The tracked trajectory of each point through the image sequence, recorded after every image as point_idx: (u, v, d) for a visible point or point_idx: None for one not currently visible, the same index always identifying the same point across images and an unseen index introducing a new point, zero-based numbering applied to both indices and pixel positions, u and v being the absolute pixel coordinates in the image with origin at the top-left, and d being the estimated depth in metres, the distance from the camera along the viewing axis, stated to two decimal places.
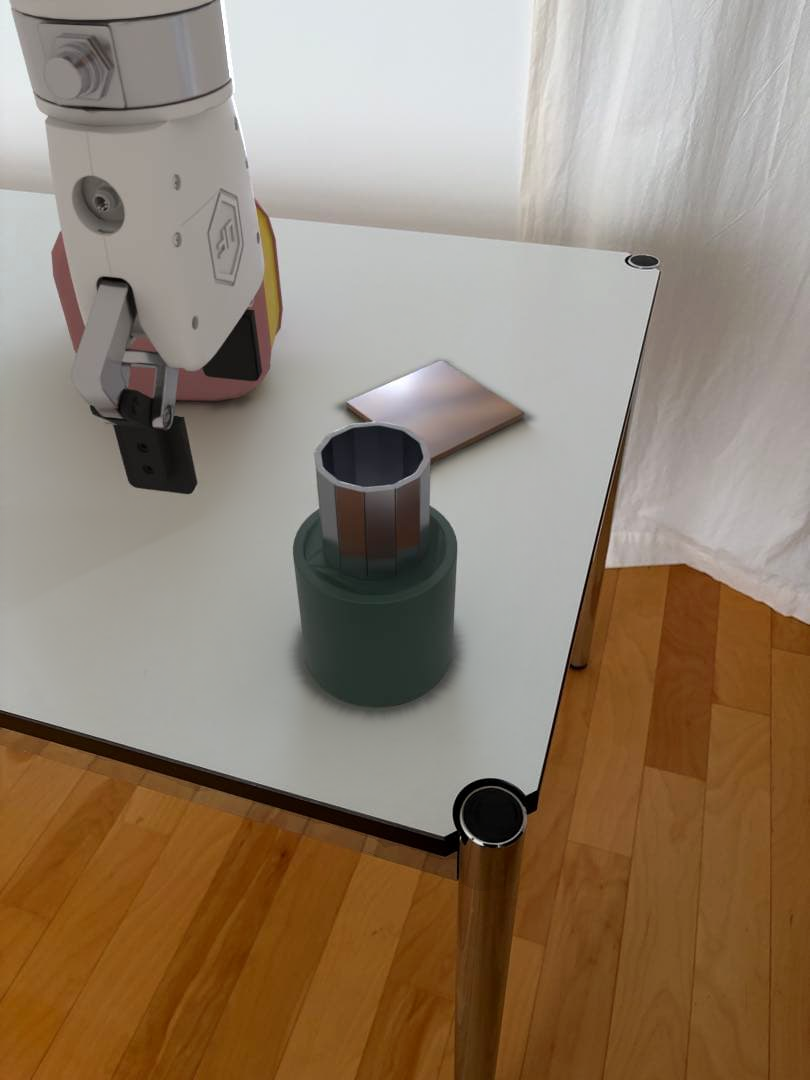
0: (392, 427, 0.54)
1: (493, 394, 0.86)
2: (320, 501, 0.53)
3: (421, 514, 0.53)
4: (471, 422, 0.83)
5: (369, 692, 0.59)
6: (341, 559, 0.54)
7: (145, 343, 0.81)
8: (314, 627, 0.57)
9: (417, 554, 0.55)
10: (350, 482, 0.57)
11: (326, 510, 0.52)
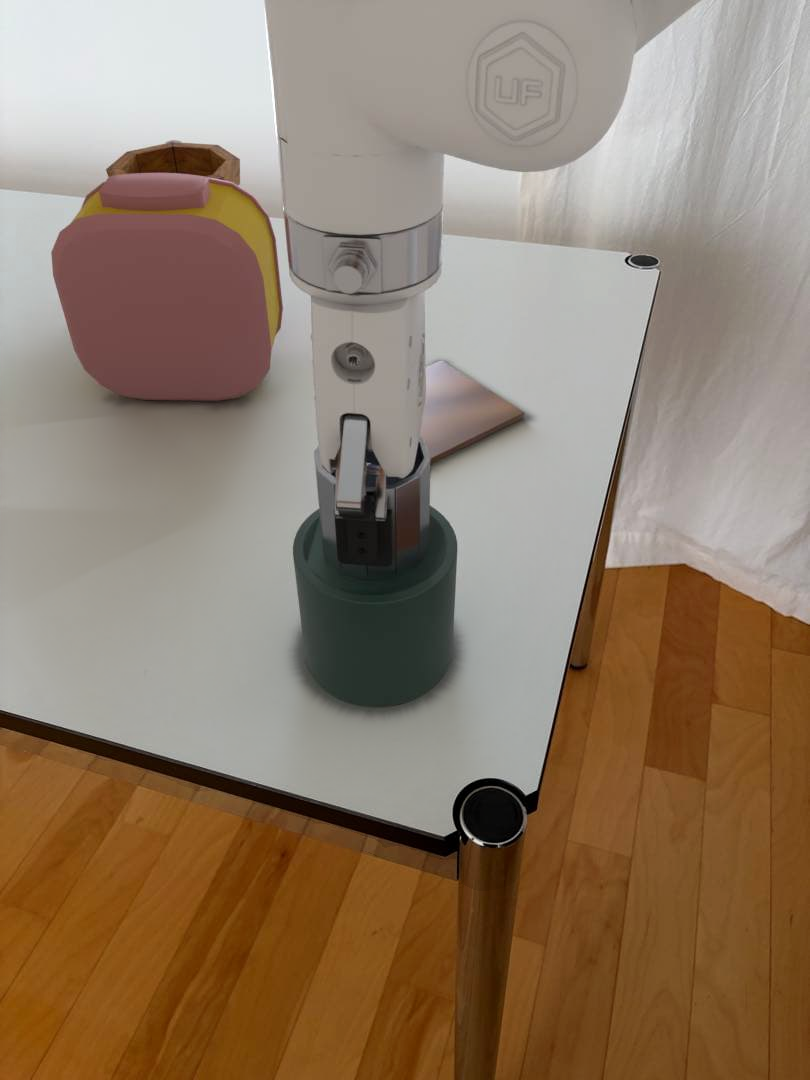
0: None
1: (493, 394, 0.86)
2: (320, 501, 0.53)
3: (421, 514, 0.53)
4: (471, 422, 0.83)
5: (369, 692, 0.59)
6: None
7: (145, 343, 0.81)
8: (314, 627, 0.57)
9: (417, 554, 0.55)
10: None
11: (326, 510, 0.52)
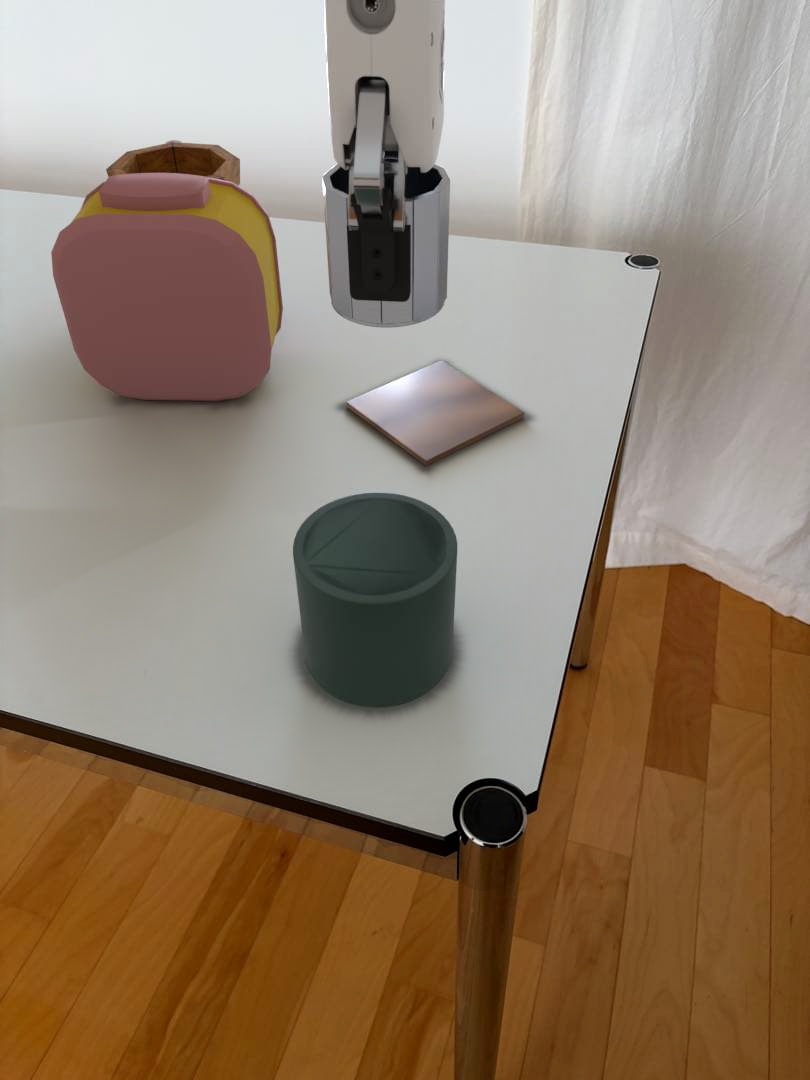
0: None
1: (493, 394, 0.86)
2: (329, 232, 0.48)
3: (440, 247, 0.48)
4: (471, 422, 0.83)
5: (369, 692, 0.59)
6: (352, 302, 0.49)
7: (145, 343, 0.81)
8: (314, 627, 0.57)
9: (435, 300, 0.50)
10: None
11: (336, 241, 0.48)
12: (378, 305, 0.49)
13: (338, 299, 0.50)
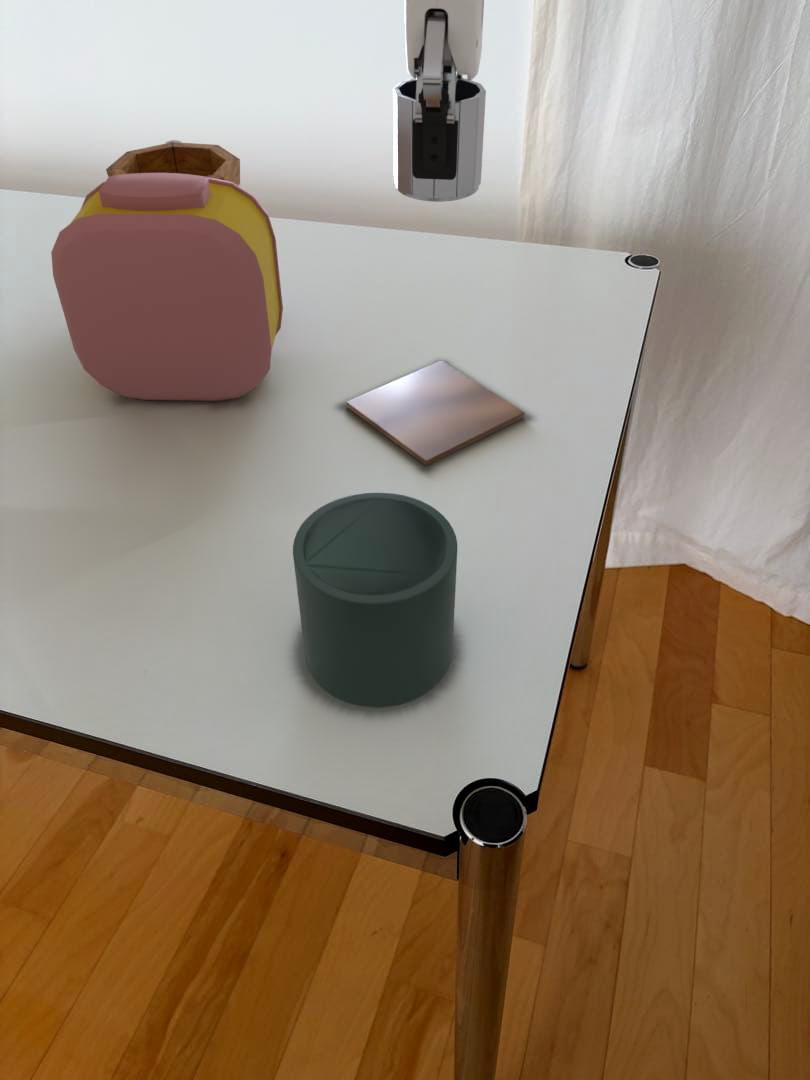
0: None
1: (493, 394, 0.86)
2: (398, 128, 0.66)
3: (477, 141, 0.67)
4: (471, 422, 0.83)
5: (369, 692, 0.59)
6: (413, 182, 0.68)
7: (145, 343, 0.81)
8: (314, 627, 0.57)
9: (473, 182, 0.68)
10: None
11: (403, 135, 0.66)
12: (432, 183, 0.67)
13: (402, 181, 0.68)
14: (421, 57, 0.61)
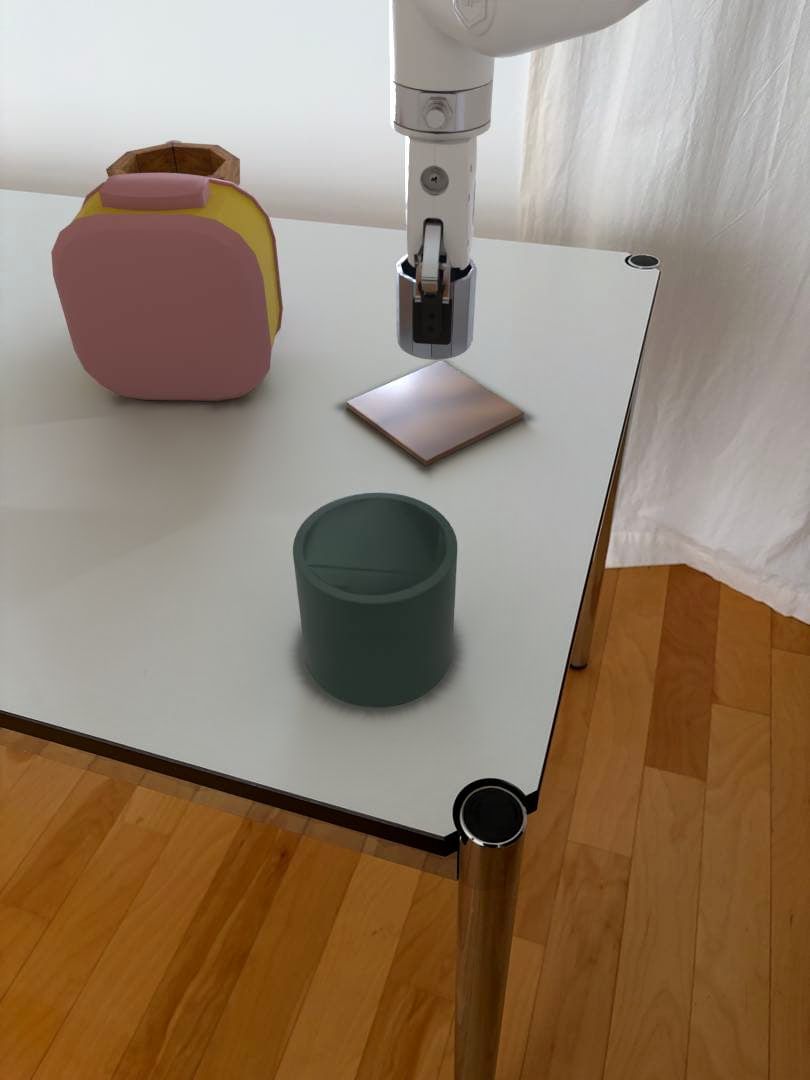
0: None
1: (493, 394, 0.86)
2: (400, 300, 0.76)
3: (469, 310, 0.76)
4: (471, 422, 0.83)
5: (369, 692, 0.59)
6: (413, 343, 0.77)
7: (145, 343, 0.81)
8: (314, 627, 0.57)
9: (465, 342, 0.78)
10: None
11: (404, 305, 0.76)
12: (429, 346, 0.77)
13: (403, 341, 0.78)
14: (420, 250, 0.71)
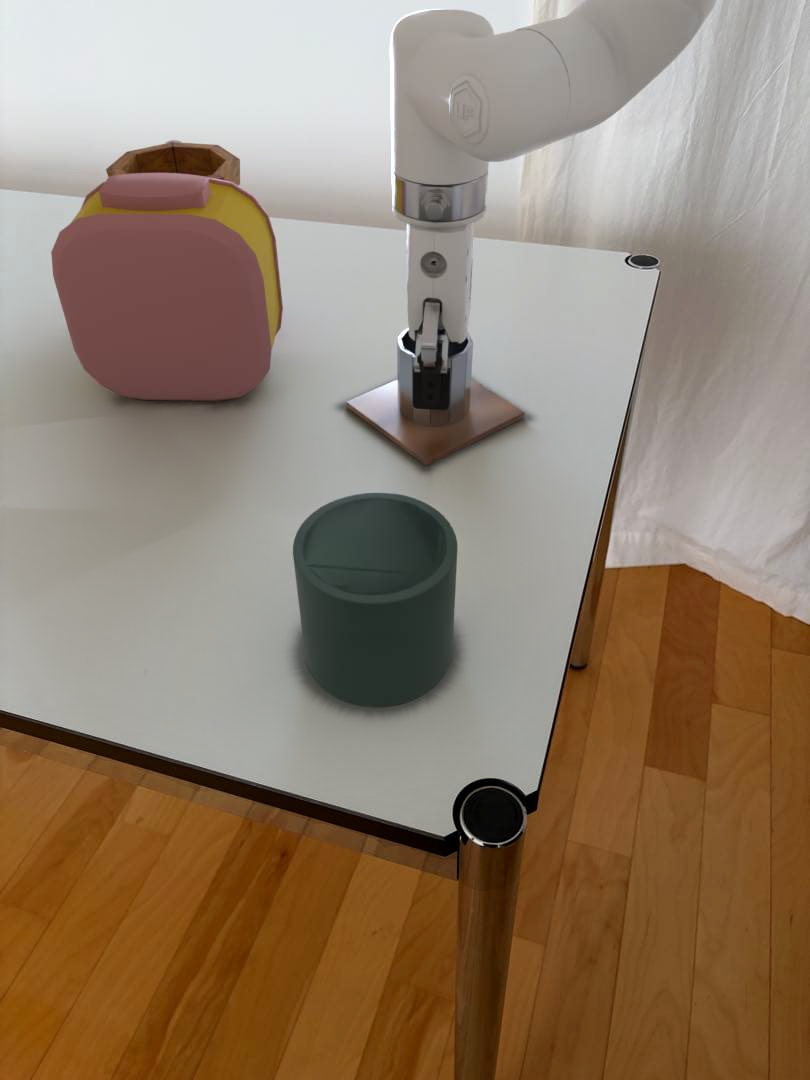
0: None
1: (493, 394, 0.86)
2: (401, 371, 0.81)
3: (466, 381, 0.81)
4: (471, 422, 0.83)
5: (369, 692, 0.59)
6: (413, 412, 0.82)
7: (145, 343, 0.81)
8: (314, 627, 0.57)
9: (463, 410, 0.83)
10: None
11: (405, 377, 0.80)
12: (429, 414, 0.81)
13: (404, 408, 0.83)
14: (420, 324, 0.75)
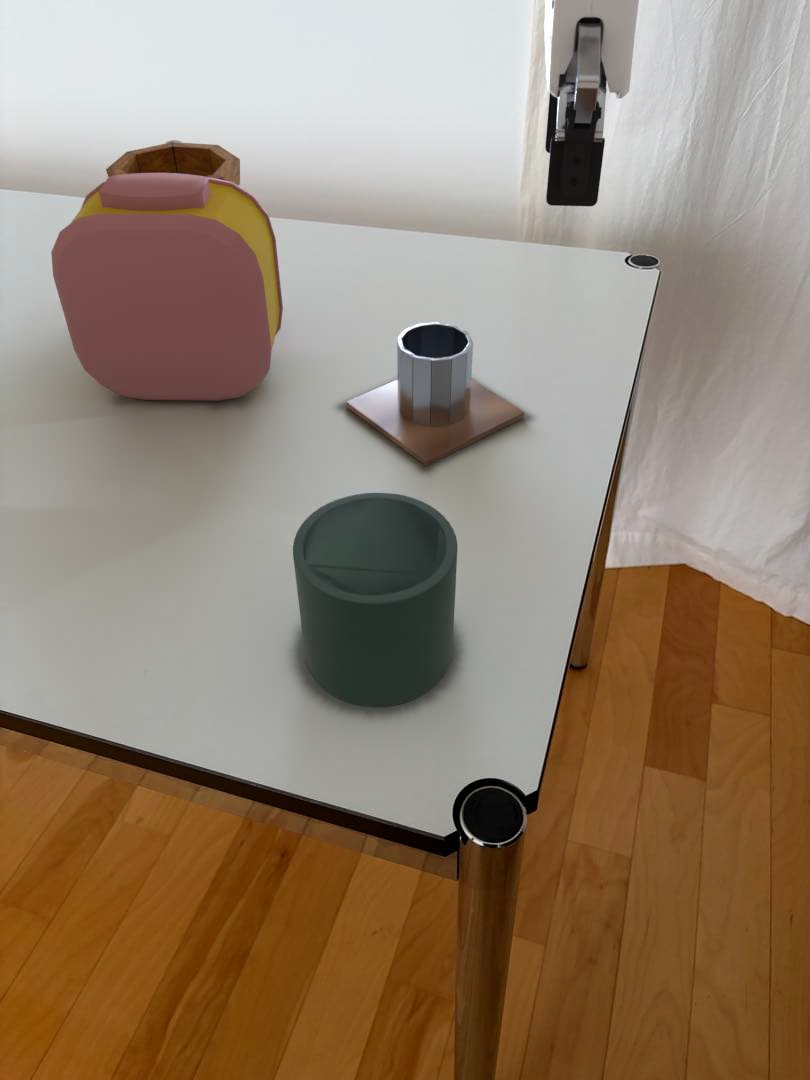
0: (446, 325, 0.82)
1: (493, 394, 0.86)
2: (401, 371, 0.81)
3: (466, 381, 0.81)
4: (471, 422, 0.83)
5: (369, 692, 0.59)
6: (413, 412, 0.82)
7: (145, 343, 0.81)
8: (314, 627, 0.57)
9: (463, 410, 0.83)
10: None
11: (405, 377, 0.80)
12: (429, 414, 0.81)
13: (404, 408, 0.83)
14: None
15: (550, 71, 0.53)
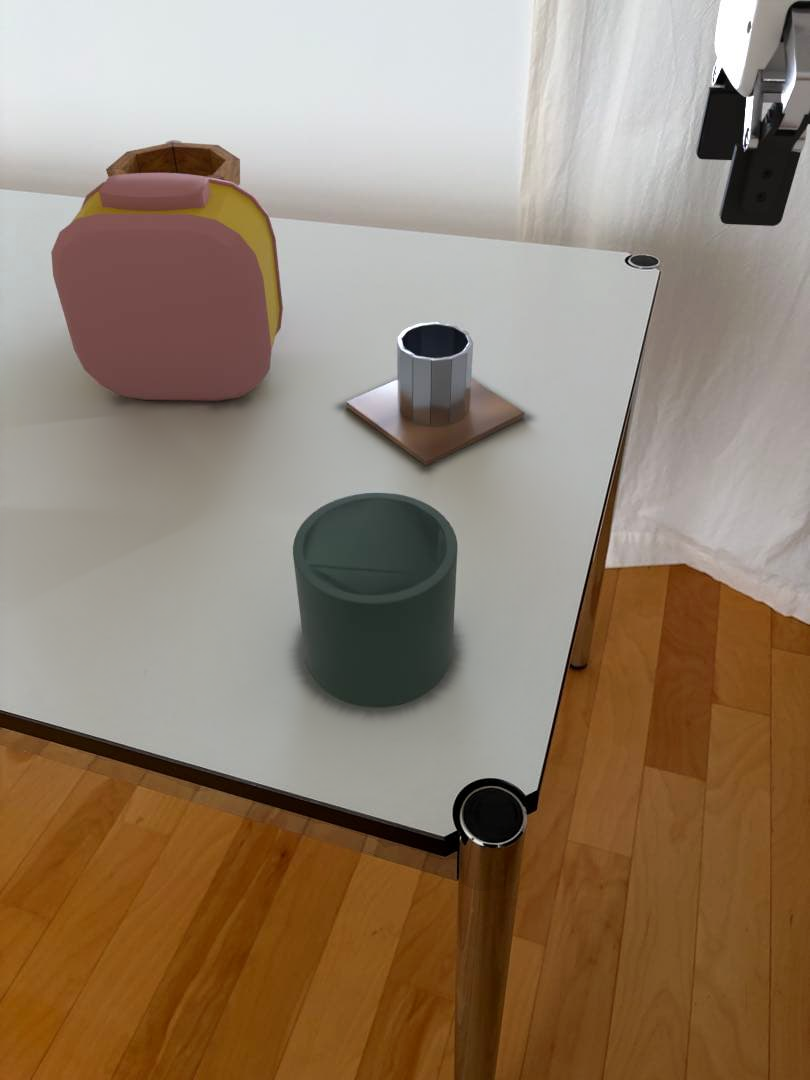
0: (446, 325, 0.82)
1: (493, 394, 0.86)
2: (401, 371, 0.81)
3: (466, 381, 0.81)
4: (471, 422, 0.83)
5: (369, 692, 0.59)
6: (413, 412, 0.82)
7: (145, 343, 0.81)
8: (314, 627, 0.57)
9: (463, 410, 0.83)
10: None
11: (405, 377, 0.80)
12: (429, 414, 0.81)
13: (404, 408, 0.83)
14: None
15: (745, 65, 0.44)
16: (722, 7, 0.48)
